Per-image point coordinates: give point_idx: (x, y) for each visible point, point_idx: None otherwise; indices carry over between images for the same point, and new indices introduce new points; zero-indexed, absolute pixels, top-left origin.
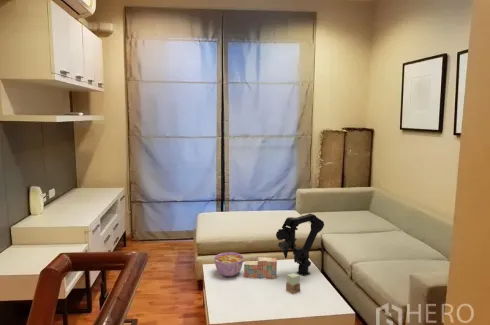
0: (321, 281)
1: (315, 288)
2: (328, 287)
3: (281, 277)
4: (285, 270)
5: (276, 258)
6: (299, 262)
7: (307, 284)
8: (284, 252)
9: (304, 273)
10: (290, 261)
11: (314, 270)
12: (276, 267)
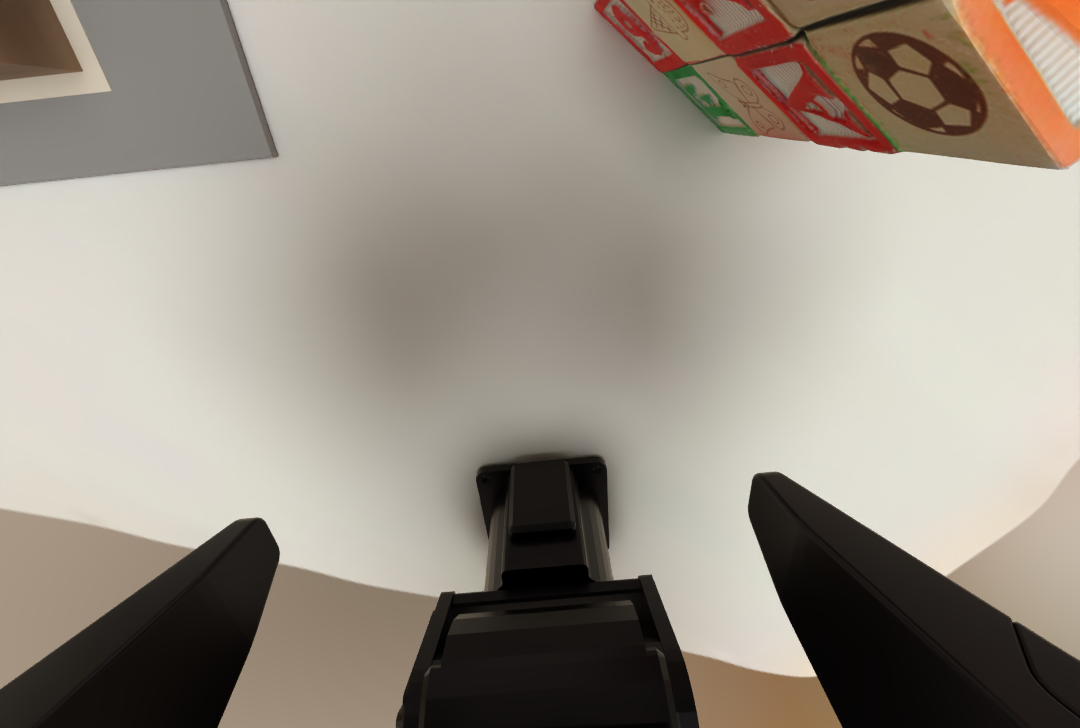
0: None
1: (65, 387)
2: (80, 516)
3: (602, 168)
4: (762, 377)
5: (1066, 149)
6: (536, 611)
7: (214, 370)
8: (984, 711)
9: (494, 505)
10: None
11: None
12: (734, 37)
